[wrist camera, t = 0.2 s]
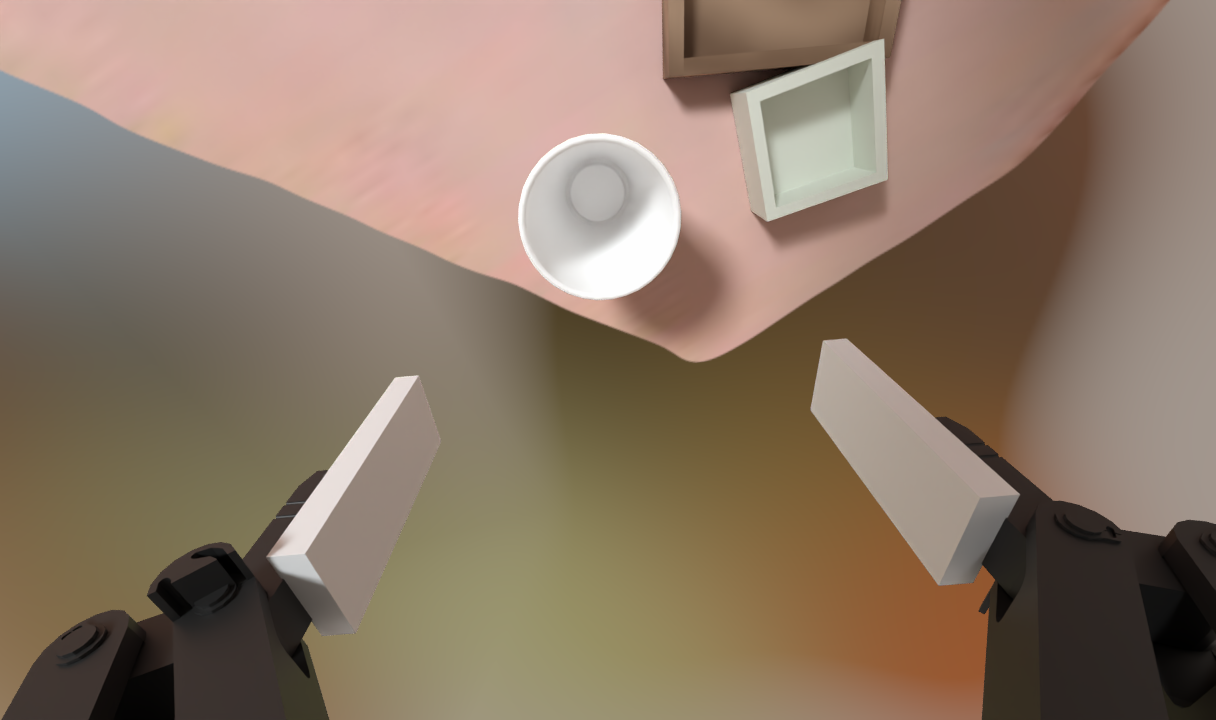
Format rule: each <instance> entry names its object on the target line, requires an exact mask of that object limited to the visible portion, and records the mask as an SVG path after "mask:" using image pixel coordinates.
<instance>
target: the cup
mask: <svg viewBox="0 0 1216 720" xmlns="http://www.w3.org/2000/svg"><path fill="white" fill-rule="evenodd" d="M518 223H519V230H520V237H521V240H522V243H523V245H524V248H525V251H526V253H527V255H528V257H529V259H530V260H531V262H532V264H533V265H534V267H535V268H536V269H537V270H538V271H539V273H540V274H541V275H542V276H543V277H544V278H545V279H546V280H548V281H549V282H550V283H551V284H552V285H554V286H555V287H557V288H558V289H560V290H562V291H564V292H566V293H568V294H570V295H573V296H577V297H580V298H583V299H591V300H610V299H615V298H620V297H624V296H627V295H629V294H631V293H634V292H636V291H638V290H640V289H641V288H643V287H644V286H646V285H647V284H649V283H650V282H651V281H652V280H653V279H654V278H655V277H656V276H657V275H658V274H659V273H660V272H661V271H662V270H663V269H664V267H665V266H666V264H667V263H668V261H669V260H670V259H671V257H672V254H673V252H674V250H675V247H676V245H677V242H678V238H679V233H680V229H681V207H680V200H679V195H678V192H677V189H676V187H675V184H674V181H673V179H672V177H671V176H670V174H669V172H668V171H667V169H666V168H665V166H664V165H663V164H662V162H661V161H660V160H659V159H658V158H657V157H656V156H655V155H654V154H653V153H652V152H651V151H649V150H648V149H646V148H645V147H643V146H642V145H640V144H639V143H637V142H635V141H632V140H630V139H627V138H625V137H622V136H618V135H612V134H606V133H599V134H586V135H582V136H578V137H575V138H571V139H569V140H567V141H565V142H563V143H561V144H559V145H558V146H556V147H554V148H553V149H552V150H550V151H549V152H548V153H547V154H546V155H545V156H543V157H542V158H541V159H540V161H539V162H538V163H537V165H536V166H535V167H534V168H533V170H532V171H531V172H530V175H529V177H528V179H527V181H526V183H525V185H524V187H523V190H522V194H521V198H520V202H519V215H518Z"/></svg>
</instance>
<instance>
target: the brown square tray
mask: <svg viewBox="0 0 1216 720" xmlns="http://www.w3.org/2000/svg"><path fill="white" fill-rule="evenodd" d="M900 5H901V0H662V35H663V79H669V78H680V77H692V76H703V75H714V74H725V73H736V72H747V71H758V70H770V69H781V68H792V67H801V66H807V65H813V64H816V63H819V62H821V61H824V60H827V59H829V58H832V57H834V56H837V55H839V54H842V53H844V52H847V51H849V50H852V49H854V48H857V47H860V46H862V45H865V44H867V43H870V42H872V41H876V40H880V39H884V51H885V58H889V57H890V55H891V50H892V45H893V40H894V35H895V30H896V25H897V20H898V15H899V10H900Z"/></svg>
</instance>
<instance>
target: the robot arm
mask: <svg viewBox="0 0 1216 720" xmlns="http://www.w3.org/2000/svg"><path fill="white" fill-rule="evenodd" d="M811 411H812V413H813V414H814V415H815V416H816V418H817V420H818V421H819V422H820V424H821V425H822V426H823V428H824V429H825V431H826V432H827V433H828V435H829V436H830V437H831V439H832V440H833V442H834V443H835V444H836V445H837V447H838V448H839V450H840V451H841V452H842V454H843V455H844V457H845V458H846V459H847V461H848V462H849V463H850V465H851V466H852V468H853V469H854V470H855V472H856V473H857V474H858V476H859V477H860V478H861V480H862V481H863V483H864V484H865V485H866V487H867V488H868V489H869V491H870V492H871V494H872V495H873V496H874V497H875V499H876V500H877V502H878V503H879V505H880V506H881V507H882V509H883V510H884V511H885V513H886V514H887V515H888V517H889V518H890V520H891V521H892V522H893V524H894V525H895V527H896V528H897V529H898V531H899V532H900V533H901V535H902V536H903V537H904V539H905V540H906V542H907V543H908V544H909V546H910V547H911V548H912V550H913V551H914V553H915V554H916V555H917V557H918V558H919V559H920V561H921V562H922V564H923V565H924V566H925V568H926V569H927V570H928V572H929V573H930V574H931V576H932V577H933V578H934V580H935V581H936V582H937V584H938V585H939V586H941V585H953V584H965V583H973V582H974V580H975V578H976V576H977V574H978V573H979V571H980V569H981V567H982V565H983V566H984V567H985V568H986V569H987V571H988V572H989V573H990V574H991V575H992V576H993V578H994V579H995V582H994V584H993V586H992V587H991V589H990V591H989V592H988V594H987V596H986V598H985V599H984V601H983V603H982V605H981V607H980V609H979V612H981V613H983V614H985V613H986V611H987V610H988V608H989V619H988V634H987V649H986V664H985V680H984V695H983V711H982V720H1216V524H1213V523H1209V522H1205V521H1195V520H1186V521H1181V522H1178V523H1177V524H1176V525H1175V526H1174V527H1173V529H1172V530H1171V531H1170V532H1169V534H1168V535H1167V536H1166V537H1164V536H1158V535H1151V534H1145V533H1138V532H1132V531H1126V530H1121V529H1119V528H1118V527H1117V526H1116V525H1115V524H1114V523H1113V522H1112V521H1110V520H1108V519H1107V518H1105V517H1103V516H1102V515H1100V514H1098V513H1097V512H1095V511H1092V510H1090V509H1087V508H1085V507H1082V506H1080V505H1077V504H1073V503H1068V502H1064V501H1053V500H1052V499H1051V498H1049V497H1048V496H1047V495H1046V494H1045V493H1043V492H1042V491H1041V490H1040V489H1039V488H1038V487H1036V486H1035V485H1034V484H1033V483H1032V482H1031V481H1029V480H1028V479H1027V478H1026V477H1025V476H1023V475H1022V474H1021V473H1020V472H1019V471H1018V470H1016V469H1015V468H1014V467H1013V466H1012V465H1011V464H1009V463H1008V462H1007V461H1006V460H1005V459H1003V458H1002V457H999V456H998V453H996V452H995V451H994V450H993V449H992V448H990V447H989V446H988V445H985V444H984V442H983V441H982V440H981V439H980V438H979V437H978V436H976V435H975V434H974V433H973V432H972V431H970V430H969V429H968V428H966V427H964V426H962V425H961V424H959V423H957V422H955V421H953V420H951V419H949V418H947V417H937V418H934V417H933V416H932V415H931V414H930V413H929V412H928V411H927V410H926V409H924V408H923V407H922V406H921V405H920V404H919V403H918V402H917V401H916V400H914V399H913V398H912V397H911V396H910V395H909V394H908V393H907V392H906V391H904V390H903V389H902V388H901V387H900V386H899V385H898V384H897V383H896V382H894V381H893V380H892V379H891V378H890V377H889V376H888V375H887V374H886V373H884V372H883V371H882V370H881V369H880V368H879V367H878V366H876V364H874V363H873V362H872V361H871V360H870V359H869V358H868V357H867V356H865V355H864V354H863V353H862V352H861V351H860V350H859V349H858V348H857V347H856V346H854V345H853V344H852V343H851V342H850V341H849V340H848V339H837V340H826V341H823V344H822V349H821V355H820V360H819V366H818V372H817V377H816V382H815V388H814V393H813V399H812V404H811ZM440 443H441V439H440V436H439V433H438V430H437V428H436V425H435V422H434V419H433V416H432V413H431V410H430V407H429V404H428V401H427V398H426V395H425V392H424V390H423V387H422V384H421V381H420V378H419V376H406V377H396V378H395V379H394V380H393V381H392V383H391V384H390V386H389V387H388V388H387V390H386V391H385V393H384V394H383V395H382V397H381V398H380V399H379V401H378V402H377V404H376V405H375V406H374V408H373V409H372V411H371V412H370V414H369V415H368V416H367V418H366V419H365V420H364V422H363V423H362V424H361V426H360V427H359V429H358V430H357V431H356V433H355V434H354V436H353V437H352V438H351V440H350V441H349V443H348V444H347V446H346V447H345V448H344V449H343V451H342V452H341V454H340V455H339V456H338V458H337V459H336V461H335V462H334V463H333V465H332V466H331V468H330V469H329V470H324V471H317V472H316V473H314V474H313V475H312V476H311V477H309V478H308V479H307V480H306V481H304V482H303V483H302V484H301V485H300V486H298V488H297V489H296V490H295V492H294V493H293V494H292V496H291V497H290V498H289V499H288V501H287V504H286V505H285V506H283V507H282V509H281V510H280V511H279V513H278V514H277V515H276V519H273V520H272V522H271V523H270V524H269V526H268V527H267V528H266V530H265V531H264V532H263V533H262V535H261V536H260V538H259V539H258V540H257V541H256V543H255V544H254V545H253V546H252V548H251V549H250V551H249V552H248V553H247V554H246V556H245V557H244V558H243V559H242V558H241V557H240V556H239V555H238V554H237V552H236V551H235V549H234V548H233V547H232V545H231V544H228V543H222V542H219V543H213V544H208V545H205V546H202V547H200V548H197V549H194V550H192V551H190V552H188V553H187V554H185V555H184V556H182V557H180V558H178V559H177V560H175V561H174V562H173V563H172V564H170V565H169V566H168V567H167V568H166V569H164V570H163V571H162V572H161V573H160V574H159V575H158V577H157V578H156V579H155V580H154V581H153V583H152V584H151V586H150V589H149V591H148V594H147V596H148V597H149V598H150V599H151V601H153V603H154V604H155V605H156V606H157V607H159V609H160V610H161V611H162V612H163V614H160V615H157V616H154V617H151V618H149V619H145V620H143V621H140V622H137V623H136V622H135V621H134V620H133V619H132V618H131V617H130V616H129V615H128V614H126V612H125V611H122V610H111V611H107V612H104V613H100V614H97V615H95V616H93V617H90V618H89V619H86V620H85V621H82V622H80V623H78V624H77V625H76V626H74V627H72V628H71V629H70V630H68V631H66V632H65V633H63V634H62V635H60V636H59V637H58V638H57V639H56V640H55V641H54V642H53V643H51V644H50V645H49V646H48V647H47V648H46V649H45V650H44V651H43V652H42V654H41V655H40V656H39V657H38V659H37V660H36V661H35V662H34V664H33V665H32V667H31V669H30V671H29V672H28V674H27V676H26V677H25V679H24V681H23V683H22V684H21V686H20V688H19V690H18V691H17V693H16V695H15V697H14V699H13V700H12V703H11V704H10V706H9V707H8V709H7V711H6V713H5V715H4V716H3V718H2V720H329V717H328V714H327V711H326V707H325V703H324V700H323V697H322V693H321V690H320V686H319V683H318V680H317V676H316V673H315V669H314V666H313V662H312V659H311V657H310V652H309V649H308V646H307V645H306V643H305V642H304V641H303V639H302V638H303V636H304V634H305V632H306V630H307V628H308V627H309V625H310V623H311V621H312V622H313V624H314V625H315V627H316V628H317V629H318V631H319V632H320V634H321V635H322V636H327V635H340V634H353V633H356V632H357V629H358V627H359V625H360V623H361V620H362V618H363V616H364V614H365V611H366V609H367V607H368V604H369V602H370V600H371V598H372V595H373V593H374V591H375V589H376V586H377V584H378V582H379V580H380V578H381V575H382V573H383V571H384V568H385V566H386V564H387V562H388V560H389V557H390V555H391V553H392V551H393V548H394V546H395V544H396V542H397V539H398V537H399V535H400V533H401V530H402V528H403V526H404V524H405V521H406V519H407V517H408V515H409V512H410V510H411V508H412V506H413V503H414V501H415V499H416V497H417V494H418V492H419V490H420V488H421V485H422V483H423V481H424V479H425V476H426V474H427V472H428V470H429V467H430V465H431V463H432V460H433V458H434V456H435V454H436V452H437V449H438V447H439V445H440Z"/></svg>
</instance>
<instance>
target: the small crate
mask: <svg viewBox="0 0 1216 720" xmlns="http://www.w3.org/2000/svg"><path fill="white" fill-rule="evenodd" d="M730 98H731V103H732V109H733V114H734V120H735V125H736V131H737V136H738V142H739V147H740V153H741V158H742V164H743V169H744V175H745V180H746V186H747V191H748V197H749V202H750V208H751V211H752V212H754V213H755V214H757V215H758V216H760V217H761V218H762V219H764V220H765V221H767V222H768V221H771V220H774V219H777V218H780V217H783V216H786V215H788V214H791V213H794V212H797V211H800V210H803V209H805V208H808V207H811V206H814V205H817V204H820V203H823V202H825V201H828V200H831V199H834V198H837V197H840V196H843V195H845V194H848V193H851V192H854V191H857V190H860V189H863V188H865V187H868V186H871V185H874V184H877V183H880V182H883V181H885V180H888V162H887V125H886V88H885V51H884V39H880V40H876V41H872V42H870V43H867V44H865V45H862V46H860V47H857V48H854V49H852V50H849V51H847V52H844V53H842V54H839V55H837V56H834V57H832V58H829V59H827V60H824V61H821V62H819V63H816V64H813V65H807V66H801V67H797V68H794V69H792V70H789V71H786V72H784V73H781V74H779V75H776V76H774V77H771V78H769V79H766V80H764V81H761V82H759V83H756V84H754V85H751V86H748V87H746V88H743V89H741V90H738V91H736V92H733V93H731V94H730Z"/></svg>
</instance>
